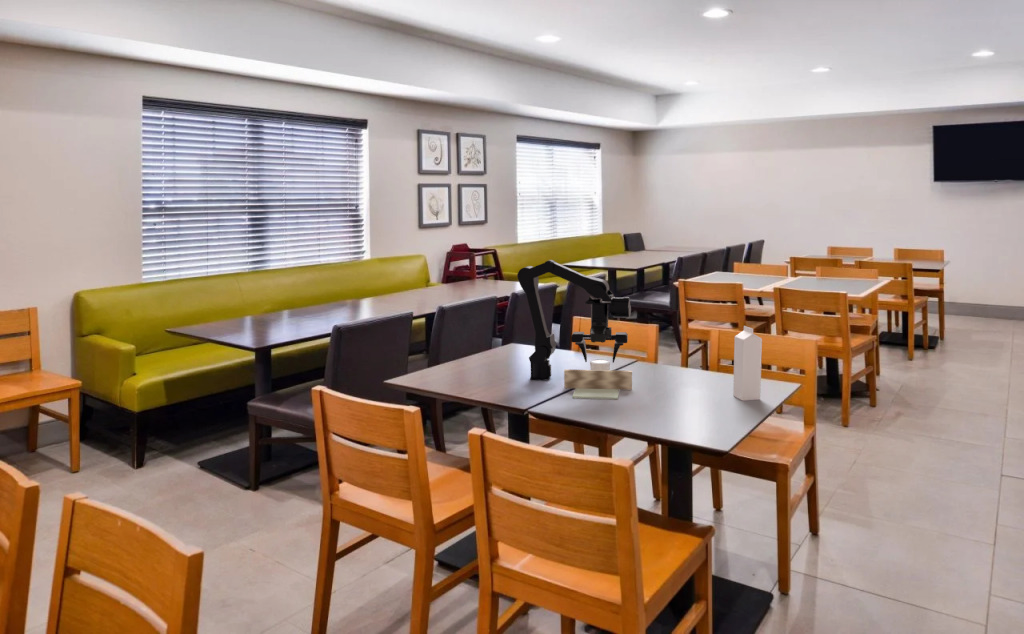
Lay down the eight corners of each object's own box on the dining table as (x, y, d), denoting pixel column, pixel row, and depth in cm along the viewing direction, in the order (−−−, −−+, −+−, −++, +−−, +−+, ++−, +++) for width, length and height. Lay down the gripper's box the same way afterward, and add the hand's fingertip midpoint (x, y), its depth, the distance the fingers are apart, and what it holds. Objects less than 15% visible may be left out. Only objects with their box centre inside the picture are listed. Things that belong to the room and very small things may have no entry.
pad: (572, 398, 227) (572, 396, 227) (575, 390, 237) (575, 388, 237) (617, 399, 224) (617, 397, 224) (619, 391, 234) (619, 389, 234)
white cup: (609, 383, 244) (609, 363, 243) (589, 383, 245) (588, 363, 244) (610, 379, 251) (610, 359, 250) (591, 378, 252) (590, 358, 251)
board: (564, 388, 240) (564, 370, 239) (564, 387, 241) (564, 369, 240) (631, 389, 235) (631, 371, 235) (631, 388, 237) (632, 370, 236)
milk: (750, 394, 226) (753, 325, 223) (760, 399, 220) (763, 328, 217) (732, 396, 225) (734, 325, 222) (741, 400, 219) (744, 329, 216)
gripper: (569, 320, 239) (569, 366, 241) (626, 321, 235) (626, 368, 237) (572, 315, 249) (573, 359, 252) (627, 315, 246) (627, 360, 248)
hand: (599, 362), depth 247 cm, fingers open, 9 cm apart
